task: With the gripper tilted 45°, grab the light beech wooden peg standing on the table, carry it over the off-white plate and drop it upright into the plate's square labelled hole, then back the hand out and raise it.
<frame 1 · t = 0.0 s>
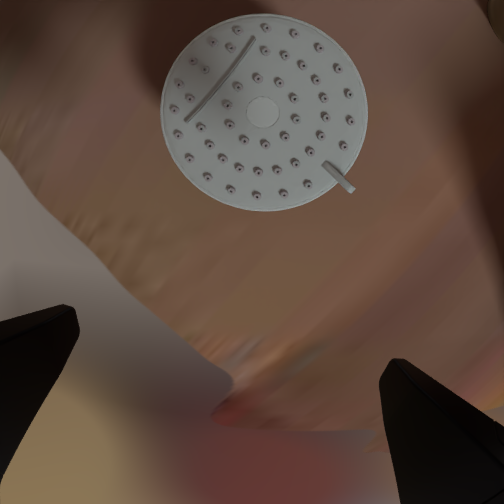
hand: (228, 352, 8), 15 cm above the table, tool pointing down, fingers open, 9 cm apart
showerhead: (270, 111, 19), on the table
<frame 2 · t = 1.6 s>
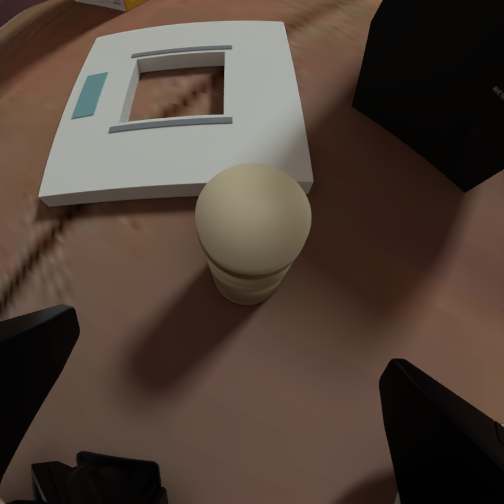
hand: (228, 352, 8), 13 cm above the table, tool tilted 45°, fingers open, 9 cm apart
uninterruptible power supply: (444, 85, 31), on the table
hole plate: (177, 96, 27), on the table
beech peg: (247, 271, 23), on the table
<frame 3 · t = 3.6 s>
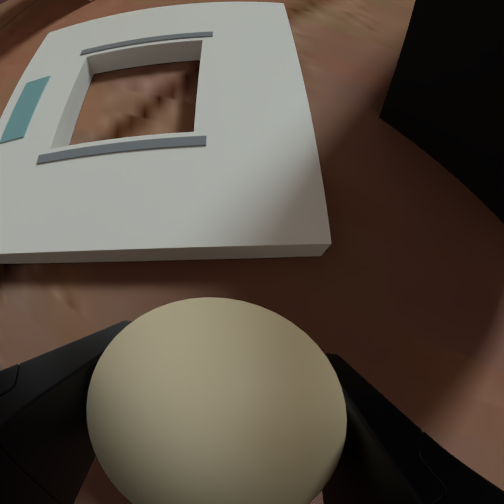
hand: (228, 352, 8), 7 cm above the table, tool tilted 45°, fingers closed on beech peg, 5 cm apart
uninterruptible power supply: (482, 91, 23), on the table
hole plate: (135, 105, 19), on the table
beech peg: (227, 379, 14), on the table, touching gripper
when the fingers open (8 cm above the table, at t = 7.5 s): beech peg drops 1 cm, resting in hole plate.
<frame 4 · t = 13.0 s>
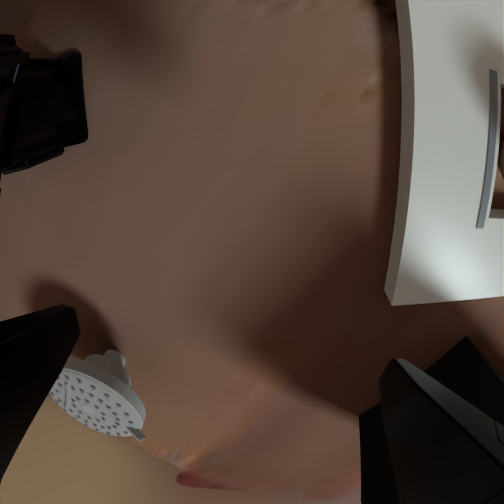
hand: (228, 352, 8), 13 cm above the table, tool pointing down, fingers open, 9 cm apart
uninterruptible power supply: (466, 413, 30), on the table
showerhead: (118, 357, 28), on the table
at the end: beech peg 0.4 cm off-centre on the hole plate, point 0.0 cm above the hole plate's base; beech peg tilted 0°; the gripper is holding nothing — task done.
